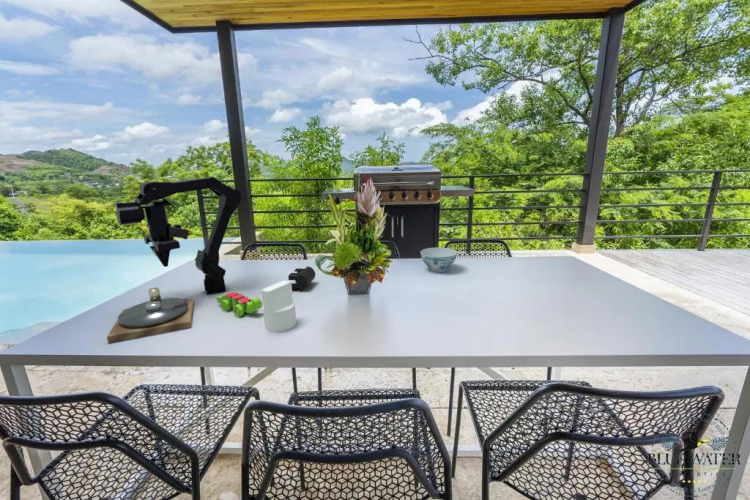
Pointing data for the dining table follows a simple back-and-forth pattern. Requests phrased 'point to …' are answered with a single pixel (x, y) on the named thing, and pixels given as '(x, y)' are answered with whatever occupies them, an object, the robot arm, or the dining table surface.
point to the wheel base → (152, 327)
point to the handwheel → (153, 311)
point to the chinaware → (438, 258)
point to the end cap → (301, 278)
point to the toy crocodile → (239, 303)
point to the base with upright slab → (278, 307)
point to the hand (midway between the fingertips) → (165, 266)
